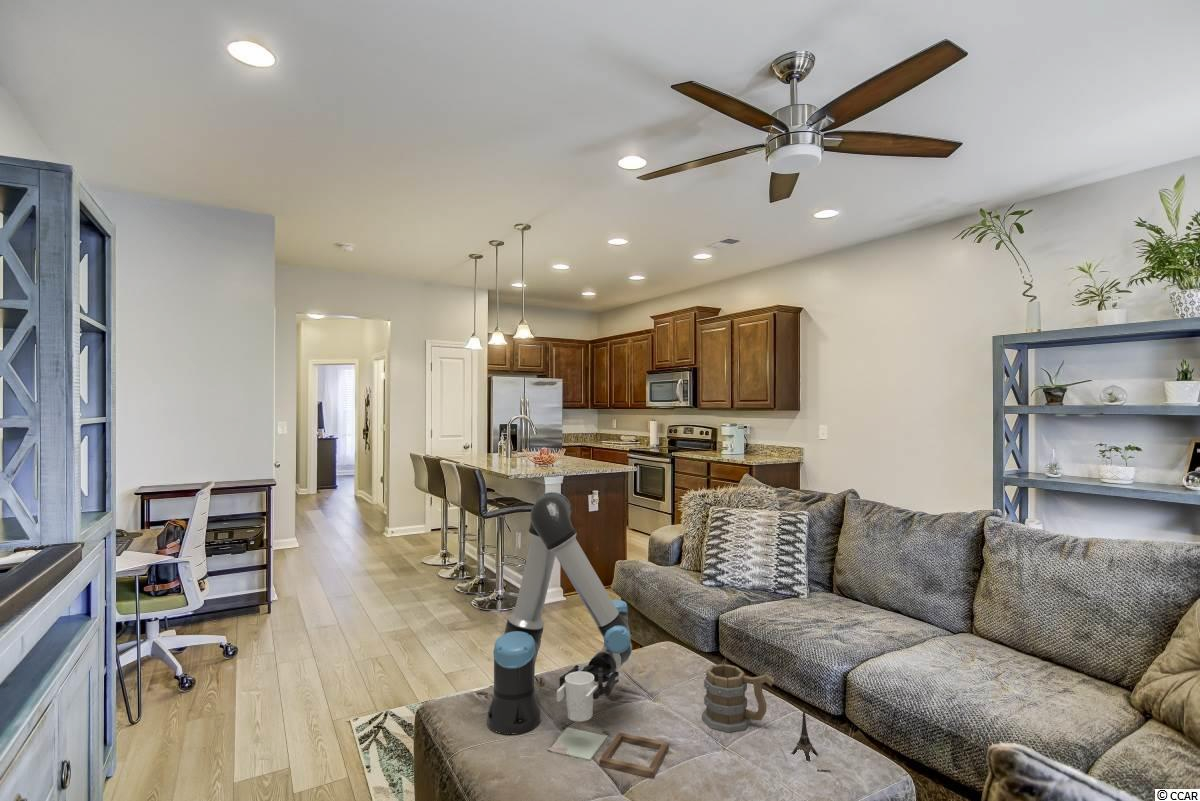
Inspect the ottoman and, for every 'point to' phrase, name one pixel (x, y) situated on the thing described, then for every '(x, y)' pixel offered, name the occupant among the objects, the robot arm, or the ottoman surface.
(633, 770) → the walnut collar
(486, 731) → the ottoman surface
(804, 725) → the eiffel tower figurine
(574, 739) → the sage tile
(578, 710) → the white cup
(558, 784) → the ottoman surface
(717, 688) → the tankard
